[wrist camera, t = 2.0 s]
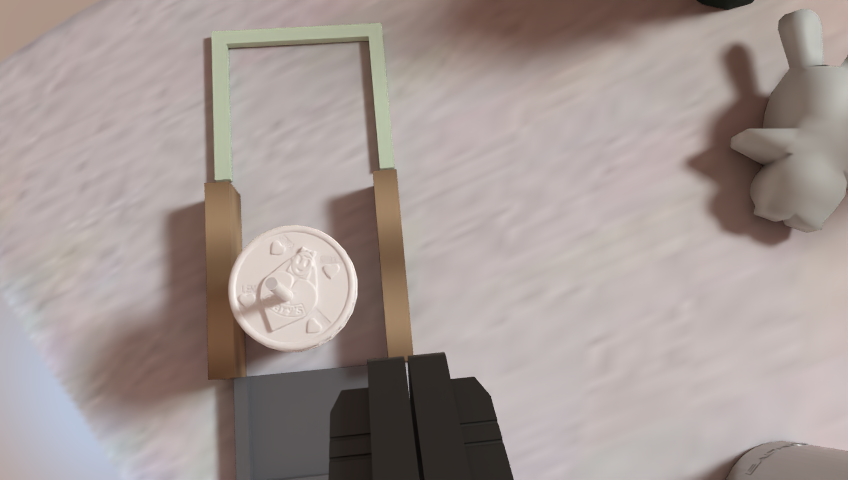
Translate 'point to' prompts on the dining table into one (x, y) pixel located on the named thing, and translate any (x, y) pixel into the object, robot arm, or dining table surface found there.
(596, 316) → the dining table surface
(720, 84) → the dining table surface
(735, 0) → the wine bottle
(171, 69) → the dining table surface
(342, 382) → the tray
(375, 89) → the frame
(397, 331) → the walnut channel
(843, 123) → the bunny figurine
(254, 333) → the smoothie
